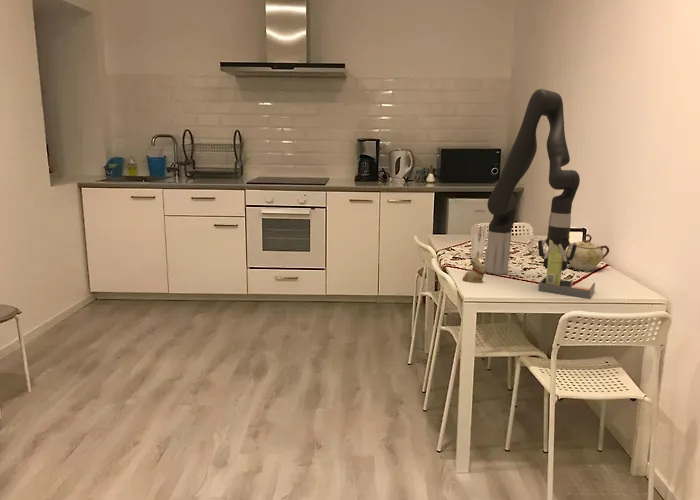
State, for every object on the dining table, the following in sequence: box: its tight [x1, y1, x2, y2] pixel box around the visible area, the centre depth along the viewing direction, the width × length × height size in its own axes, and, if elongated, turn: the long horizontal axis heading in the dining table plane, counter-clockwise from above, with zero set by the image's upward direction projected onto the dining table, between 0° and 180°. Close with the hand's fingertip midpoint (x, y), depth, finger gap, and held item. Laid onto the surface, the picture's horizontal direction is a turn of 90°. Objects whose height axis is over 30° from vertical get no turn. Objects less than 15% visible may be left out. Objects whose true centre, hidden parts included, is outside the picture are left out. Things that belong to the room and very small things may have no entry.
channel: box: [538, 276, 596, 300], centre depth 224 cm, size 18×12×3 cm, turn 61°
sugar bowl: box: [566, 233, 610, 271], centre depth 258 cm, size 20×15×15 cm
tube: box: [545, 235, 570, 286], centre depth 223 cm, size 6×5×20 cm
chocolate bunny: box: [462, 257, 486, 284], centre depth 233 cm, size 6×8×10 cm
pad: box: [572, 286, 590, 290], centre depth 225 cm, size 6×6×1 cm
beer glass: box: [469, 223, 487, 260], centre depth 273 cm, size 7×7×15 cm
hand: (554, 269), depth 224 cm, fingers closed on tube, 5 cm apart
